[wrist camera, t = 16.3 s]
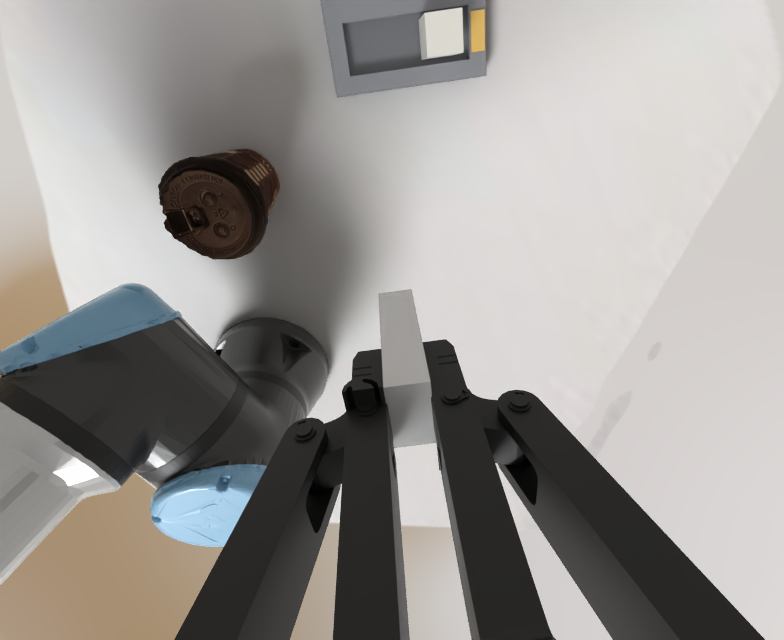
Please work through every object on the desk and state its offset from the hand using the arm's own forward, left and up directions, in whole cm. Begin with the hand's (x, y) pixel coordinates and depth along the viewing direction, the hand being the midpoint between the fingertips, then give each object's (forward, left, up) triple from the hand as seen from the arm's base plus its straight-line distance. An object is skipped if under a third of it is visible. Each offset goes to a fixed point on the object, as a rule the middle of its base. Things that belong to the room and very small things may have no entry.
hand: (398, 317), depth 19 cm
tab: (+7, +12, -28) cm, 31 cm away
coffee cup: (-14, +2, -30) cm, 33 cm away
